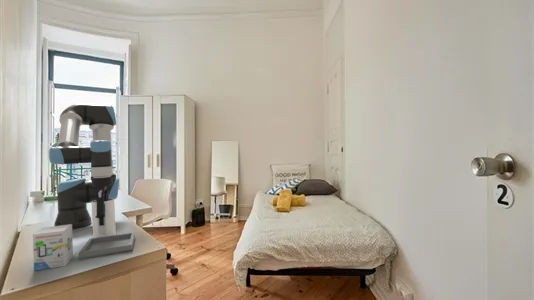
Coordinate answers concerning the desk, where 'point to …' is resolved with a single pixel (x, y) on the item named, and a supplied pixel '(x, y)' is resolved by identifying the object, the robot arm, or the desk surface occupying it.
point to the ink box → (52, 247)
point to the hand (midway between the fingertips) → (104, 229)
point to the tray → (107, 245)
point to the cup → (109, 218)
